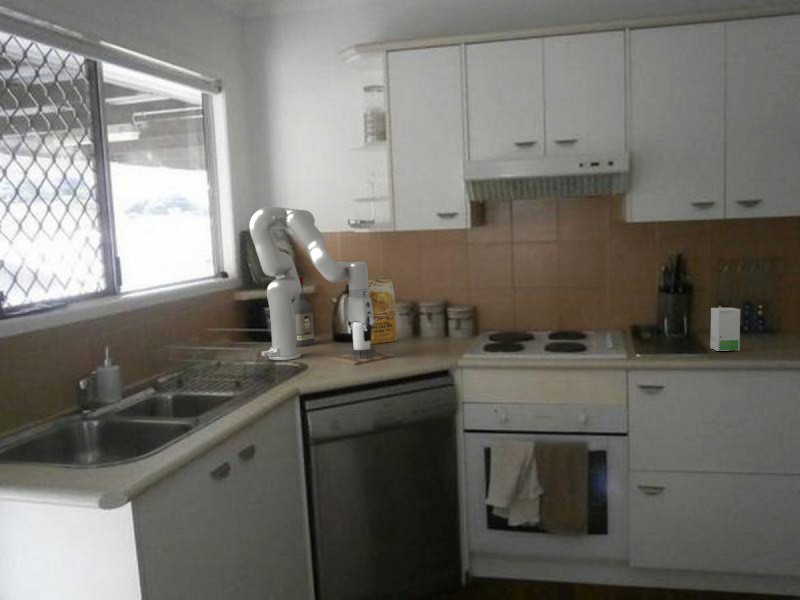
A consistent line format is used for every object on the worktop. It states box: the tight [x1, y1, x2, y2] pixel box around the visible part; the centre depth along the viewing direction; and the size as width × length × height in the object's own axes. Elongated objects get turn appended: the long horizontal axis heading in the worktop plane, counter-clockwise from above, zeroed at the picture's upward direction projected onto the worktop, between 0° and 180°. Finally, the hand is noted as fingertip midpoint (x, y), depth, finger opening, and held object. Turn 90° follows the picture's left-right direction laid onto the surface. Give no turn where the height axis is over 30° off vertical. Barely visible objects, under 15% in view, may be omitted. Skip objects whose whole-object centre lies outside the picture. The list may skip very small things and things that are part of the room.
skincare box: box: [709, 307, 741, 352], centre depth 248 cm, size 8×7×16 cm
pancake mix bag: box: [368, 277, 398, 345], centre depth 296 cm, size 7×19×28 cm, turn 116°
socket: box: [328, 345, 396, 366], centre depth 264 cm, size 20×16×4 cm
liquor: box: [292, 276, 315, 348], centre depth 298 cm, size 9×9×30 cm
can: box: [352, 321, 371, 350], centre depth 263 cm, size 6×6×12 cm
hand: (361, 339), depth 263 cm, fingers closed on can, 6 cm apart
